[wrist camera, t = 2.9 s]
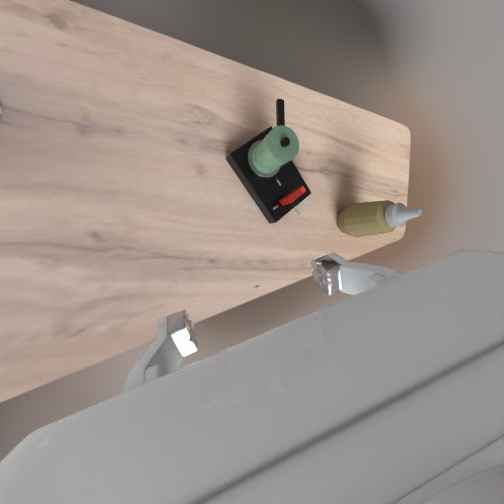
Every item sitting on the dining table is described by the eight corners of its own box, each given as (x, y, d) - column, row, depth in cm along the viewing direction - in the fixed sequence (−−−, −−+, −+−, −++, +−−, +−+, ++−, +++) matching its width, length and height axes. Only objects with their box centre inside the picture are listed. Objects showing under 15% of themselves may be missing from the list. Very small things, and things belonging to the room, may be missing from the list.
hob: (225, 159, 47) (230, 153, 44) (265, 132, 50) (271, 125, 47) (274, 230, 52) (281, 229, 49) (307, 202, 55) (316, 199, 52)
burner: (240, 153, 45) (241, 151, 45) (267, 134, 47) (268, 133, 46) (261, 184, 47) (262, 184, 46) (286, 166, 49) (287, 165, 48)
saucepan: (234, 136, 44) (250, 112, 36) (265, 117, 46) (286, 90, 38) (262, 179, 46) (283, 166, 38) (290, 159, 48) (315, 142, 41)
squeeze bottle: (332, 237, 57) (403, 234, 41) (333, 204, 57) (404, 187, 40) (358, 238, 60) (433, 235, 43) (358, 206, 60) (435, 191, 43)
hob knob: (282, 206, 49) (291, 203, 45) (278, 200, 48) (287, 197, 45) (297, 194, 50) (307, 190, 46) (293, 188, 50) (303, 184, 46)
